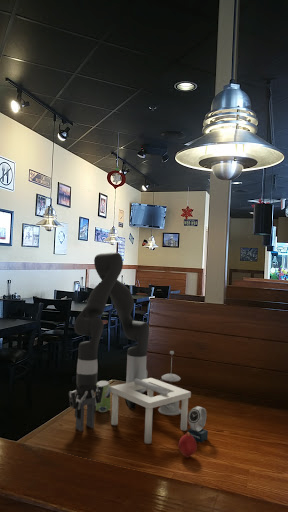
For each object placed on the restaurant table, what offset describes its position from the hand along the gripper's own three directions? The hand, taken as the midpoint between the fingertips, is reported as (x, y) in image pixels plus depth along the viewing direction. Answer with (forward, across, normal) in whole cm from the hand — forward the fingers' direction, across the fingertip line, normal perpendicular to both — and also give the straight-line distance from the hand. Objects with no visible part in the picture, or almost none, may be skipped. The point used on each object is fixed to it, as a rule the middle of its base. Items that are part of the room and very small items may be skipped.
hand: (85, 416), depth 147 cm
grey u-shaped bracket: (+4, 0, 0) cm, 4 cm away
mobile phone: (+4, -30, -11) cm, 33 cm away
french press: (+4, -38, +5) cm, 39 cm away
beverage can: (+4, -15, -10) cm, 19 cm away
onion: (+4, -14, +38) cm, 41 cm away
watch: (+4, -27, +31) cm, 41 cm away
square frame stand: (+4, -20, +13) cm, 24 cm away
